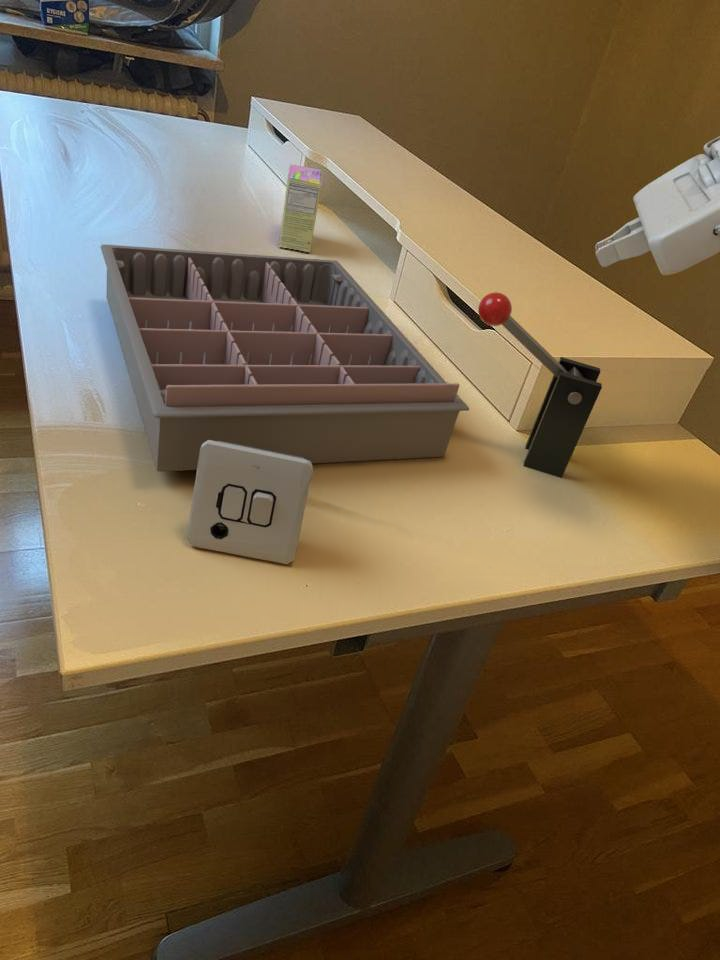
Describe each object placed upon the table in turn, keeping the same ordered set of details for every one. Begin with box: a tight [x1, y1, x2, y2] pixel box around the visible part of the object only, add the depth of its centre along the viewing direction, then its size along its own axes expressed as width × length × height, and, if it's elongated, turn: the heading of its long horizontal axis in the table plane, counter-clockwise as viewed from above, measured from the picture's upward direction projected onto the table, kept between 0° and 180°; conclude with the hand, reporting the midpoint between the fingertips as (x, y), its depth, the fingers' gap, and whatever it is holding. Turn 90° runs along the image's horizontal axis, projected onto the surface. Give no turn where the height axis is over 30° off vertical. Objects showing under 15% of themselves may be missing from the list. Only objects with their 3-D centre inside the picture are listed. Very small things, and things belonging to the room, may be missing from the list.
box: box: [278, 164, 322, 254], centre depth 129 cm, size 10×6×12 cm, turn 2°
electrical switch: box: [186, 440, 314, 565], centre depth 63 cm, size 9×5×9 cm, turn 87°
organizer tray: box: [100, 244, 470, 473], centre depth 86 cm, size 32×40×10 cm
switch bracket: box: [523, 356, 603, 479], centre depth 81 cm, size 12×10×13 cm
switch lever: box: [477, 291, 587, 379], centre depth 78 cm, size 15×3×3 cm, turn 76°
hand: (597, 256), depth 72 cm, fingers closed
